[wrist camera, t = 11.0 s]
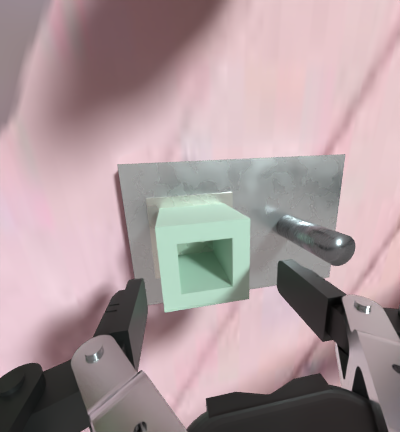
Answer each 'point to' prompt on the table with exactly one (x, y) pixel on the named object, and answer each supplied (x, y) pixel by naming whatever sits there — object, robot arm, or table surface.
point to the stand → (242, 211)
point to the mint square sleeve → (203, 256)
